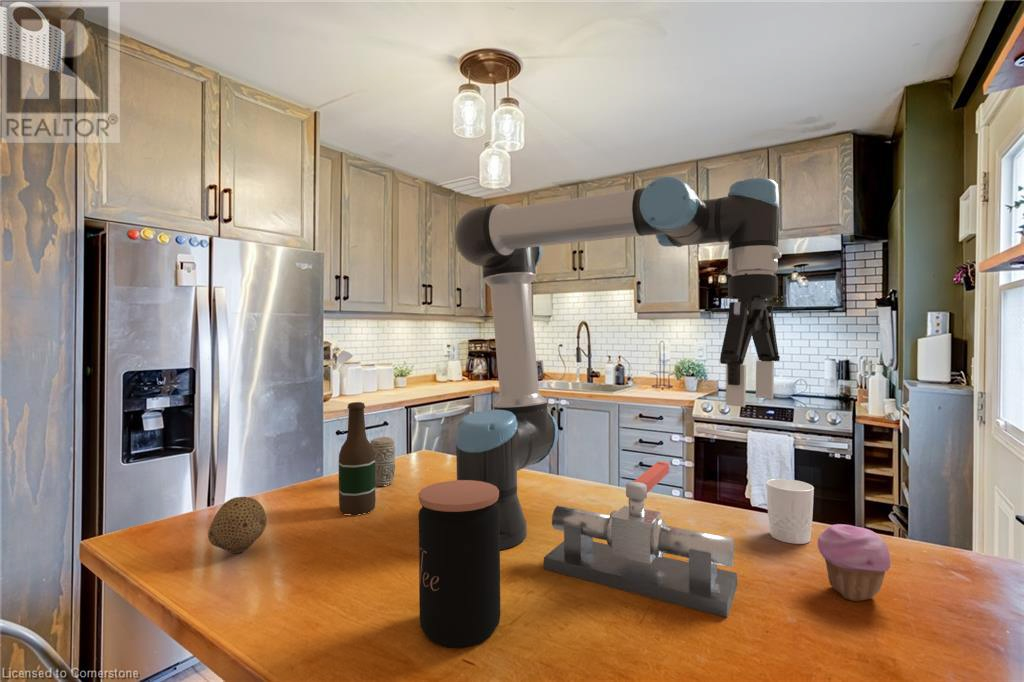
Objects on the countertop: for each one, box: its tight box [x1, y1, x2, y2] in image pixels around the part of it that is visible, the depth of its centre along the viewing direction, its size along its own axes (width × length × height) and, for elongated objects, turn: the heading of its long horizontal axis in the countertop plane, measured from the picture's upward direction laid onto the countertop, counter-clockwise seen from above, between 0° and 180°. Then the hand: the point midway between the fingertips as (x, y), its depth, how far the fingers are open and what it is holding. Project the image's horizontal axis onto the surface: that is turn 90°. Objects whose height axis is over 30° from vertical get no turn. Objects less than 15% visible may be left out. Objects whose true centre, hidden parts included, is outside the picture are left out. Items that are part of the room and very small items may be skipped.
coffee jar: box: [417, 479, 501, 649], centre depth 66 cm, size 11×11×18 cm
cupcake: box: [817, 523, 891, 602], centre depth 73 cm, size 9×9×10 cm
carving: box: [370, 436, 396, 487], centre depth 131 cm, size 6×8×12 cm
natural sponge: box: [207, 496, 268, 554], centre depth 89 cm, size 9×9×10 cm
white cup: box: [765, 478, 815, 545], centre depth 94 cm, size 8×8×10 cm
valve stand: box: [543, 498, 738, 618], centre depth 79 cm, size 28×10×12 cm, turn 59°
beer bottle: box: [338, 401, 376, 515], centre depth 111 cm, size 8×8×24 cm
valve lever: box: [625, 461, 670, 500], centre depth 86 cm, size 19×3×2 cm, turn 149°
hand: (750, 401), depth 84 cm, fingers open, 13 cm apart
